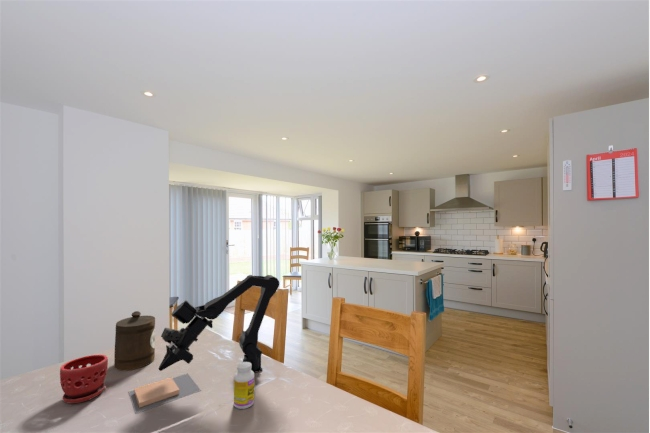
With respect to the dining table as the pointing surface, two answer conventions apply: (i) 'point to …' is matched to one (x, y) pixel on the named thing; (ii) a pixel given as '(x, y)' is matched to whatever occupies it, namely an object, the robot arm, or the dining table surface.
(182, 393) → the mat
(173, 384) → the tile
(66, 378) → the plant pot
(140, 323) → the wooden container
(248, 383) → the supplement bottle
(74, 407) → the dining table surface
